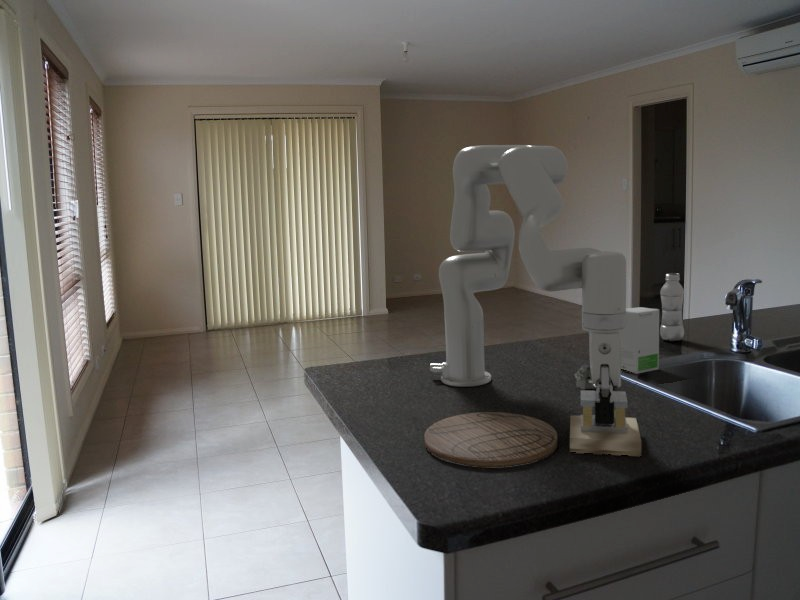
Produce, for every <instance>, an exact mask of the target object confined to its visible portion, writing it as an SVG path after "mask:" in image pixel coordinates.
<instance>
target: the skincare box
mask: <svg viewBox="0 0 800 600" xmlns="http://www.w3.org/2000/svg"><path fill="white" fill-rule="evenodd" d="M620 343H621V369H624V370H627V371H630V372H629V373H631V372H632V373H631V374H636V375H638V374H642V373H646V372H653V371H657V370H659V368H660V363H659V362H660V361H659V360H660V309H658V308H649V307H644V306H643V307H641V306H639V307H629V308H626V330H624V331H622V332H620ZM627 371H626V372H627Z"/></svg>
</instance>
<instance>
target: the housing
mask: <svg viewBox="0 0 800 600" xmlns="http://www.w3.org/2000/svg"><path fill="white" fill-rule="evenodd" d="M595 401H597V392H596V391H594V390H589V389H588V390H587V389H581V390H580V408H581V407H582V414H580V416H581V432H592V433H614V434H627V423H626V418H627V417H626V409H628V398H627V392H626V391H618V390H616V391H615V390H613V402H614V423H613V424H597V423H596V422H595V414H593V408H594V407H595ZM625 417H626V418H625Z"/></svg>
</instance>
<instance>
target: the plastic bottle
mask: <svg viewBox="0 0 800 600" xmlns="http://www.w3.org/2000/svg"><path fill="white" fill-rule="evenodd" d="M664 280H665V283H664V284H663V286H662V287H661V288H660V291H659V293H660V301H661V309H662V311H661V314H662V315H661V316H662V317H661V324H660V326H659V336H660V337H661V339H662V340H664V341H668V340H669V341H668V342H675V341H676V342H677V341H681V340H683V338H684V335H685V328H684V324H683V303H684V297H685V296H684V295H685V290H684V289H685V288H683V286H682V285H681V283H680V280H681V278H680V273H678V272H677V273H676V272H669V273H666V274H665V279H664Z"/></svg>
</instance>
